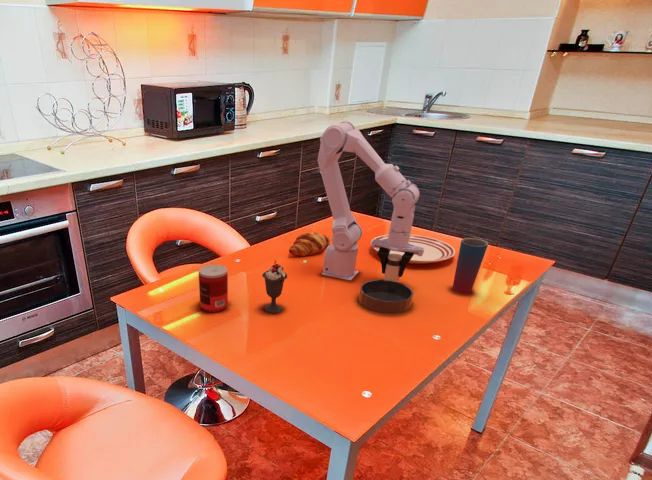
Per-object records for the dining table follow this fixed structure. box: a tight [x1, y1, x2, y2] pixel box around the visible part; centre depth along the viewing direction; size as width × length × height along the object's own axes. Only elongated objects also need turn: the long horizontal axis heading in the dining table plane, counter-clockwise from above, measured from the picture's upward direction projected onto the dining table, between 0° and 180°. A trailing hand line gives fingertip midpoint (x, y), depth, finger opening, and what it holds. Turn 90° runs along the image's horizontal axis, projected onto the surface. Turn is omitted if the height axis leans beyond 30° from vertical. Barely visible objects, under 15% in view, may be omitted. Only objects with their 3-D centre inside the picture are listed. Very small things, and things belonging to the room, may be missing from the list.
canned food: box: [198, 264, 229, 313], centre depth 131 cm, size 8×8×11 cm
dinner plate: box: [370, 233, 456, 265], centre depth 164 cm, size 27×27×3 cm
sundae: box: [261, 260, 288, 314], centre depth 128 cm, size 7×7×15 cm
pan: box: [358, 279, 414, 315], centre depth 133 cm, size 14×14×4 cm
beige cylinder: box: [383, 254, 402, 283], centre depth 141 cm, size 4×4×8 cm
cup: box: [451, 237, 489, 295], centre depth 136 cm, size 7×7×15 cm
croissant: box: [288, 231, 331, 257], centre depth 168 cm, size 21×10×8 cm, turn 132°
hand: (392, 274), depth 142 cm, fingers closed on beige cylinder, 4 cm apart
